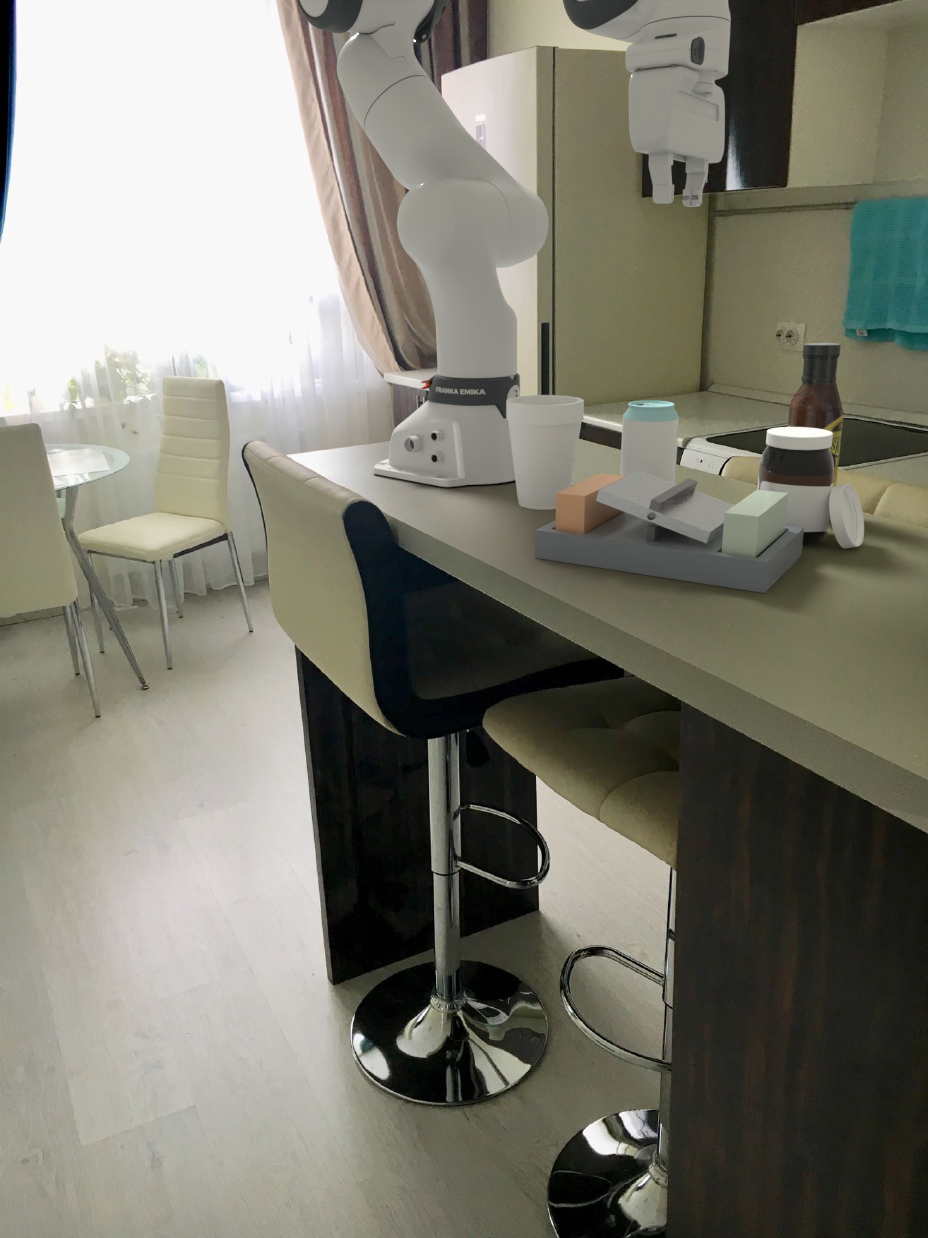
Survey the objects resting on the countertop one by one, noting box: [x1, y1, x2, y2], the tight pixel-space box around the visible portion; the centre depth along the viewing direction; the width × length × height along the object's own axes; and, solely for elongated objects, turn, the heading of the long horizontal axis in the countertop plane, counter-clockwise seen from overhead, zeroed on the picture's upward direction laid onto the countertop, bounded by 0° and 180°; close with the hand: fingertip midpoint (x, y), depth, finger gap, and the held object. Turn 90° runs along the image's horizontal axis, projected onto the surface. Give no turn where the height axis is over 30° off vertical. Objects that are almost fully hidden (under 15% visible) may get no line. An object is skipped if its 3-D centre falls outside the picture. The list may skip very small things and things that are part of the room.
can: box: [619, 400, 680, 483], centre depth 129 cm, size 7×7×12 cm
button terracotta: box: [555, 473, 626, 534], centre depth 108 cm, size 3×11×4 cm, turn 149°
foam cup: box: [506, 394, 585, 511], centre depth 126 cm, size 10×9×13 cm
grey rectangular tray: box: [534, 512, 804, 594], centre depth 105 cm, size 24×14×4 cm, turn 59°
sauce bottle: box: [786, 342, 845, 487], centre depth 119 cm, size 6×6×20 cm
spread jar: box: [756, 426, 865, 549], centre depth 109 cm, size 12×11×12 cm
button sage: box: [721, 489, 788, 557], centre depth 99 cm, size 3×11×4 cm, turn 149°
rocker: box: [596, 470, 736, 544], centre depth 103 cm, size 12×12×2 cm
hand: (678, 204), depth 108 cm, fingers open, 8 cm apart
